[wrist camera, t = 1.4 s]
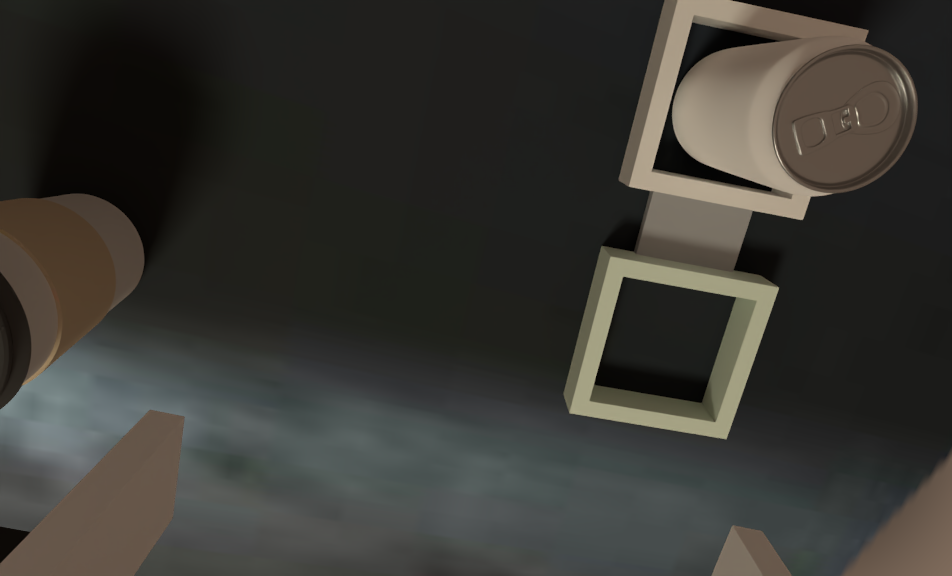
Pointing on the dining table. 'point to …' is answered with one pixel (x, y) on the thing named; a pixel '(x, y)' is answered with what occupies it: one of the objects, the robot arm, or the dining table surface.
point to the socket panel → (688, 235)
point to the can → (798, 113)
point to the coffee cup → (59, 278)
